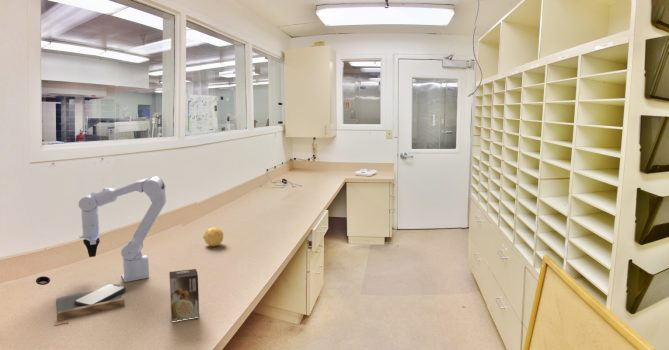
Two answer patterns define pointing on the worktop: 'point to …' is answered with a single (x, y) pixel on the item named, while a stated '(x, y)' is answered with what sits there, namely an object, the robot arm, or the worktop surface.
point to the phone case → (100, 295)
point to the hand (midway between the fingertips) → (92, 256)
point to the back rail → (90, 308)
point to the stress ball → (213, 236)
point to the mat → (68, 301)
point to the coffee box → (184, 294)
